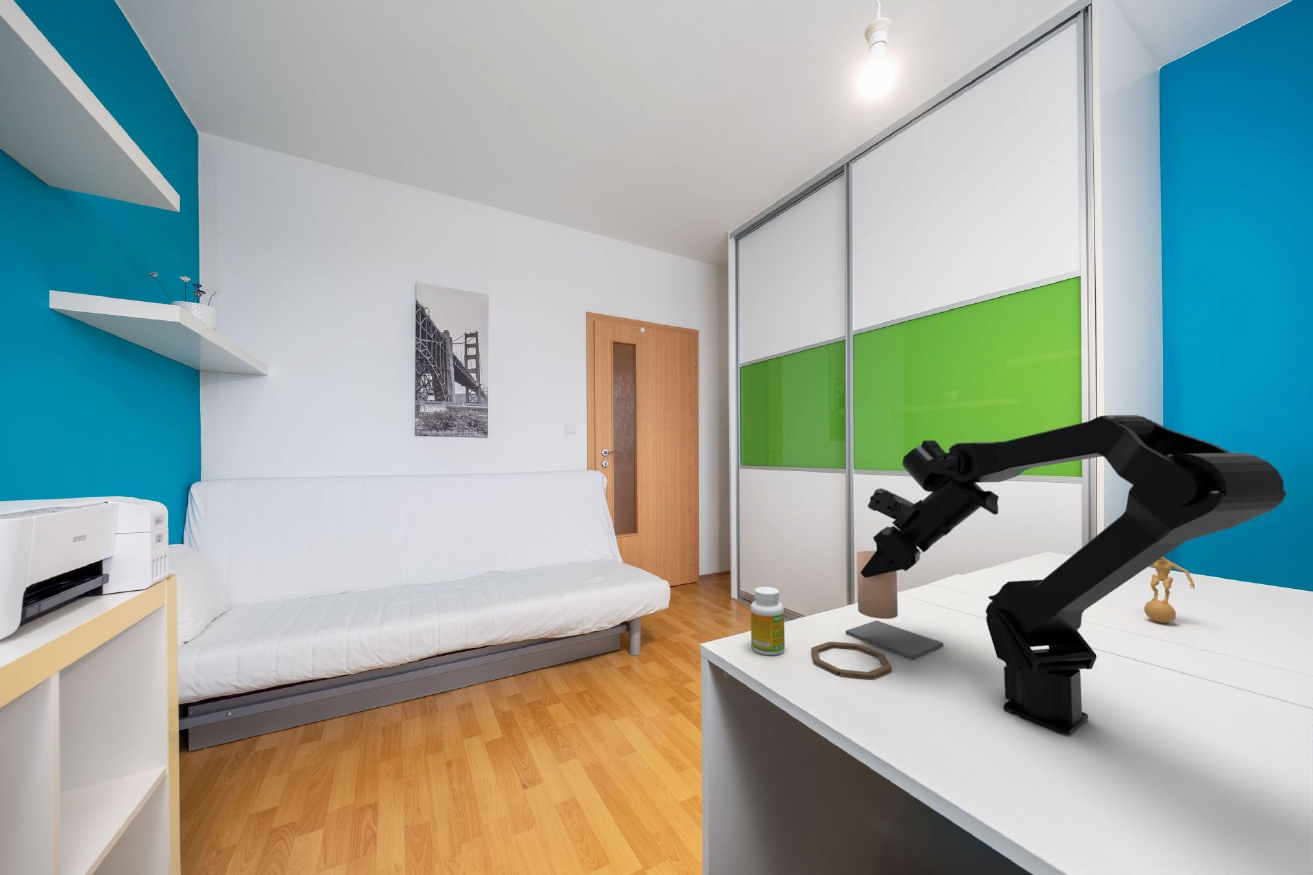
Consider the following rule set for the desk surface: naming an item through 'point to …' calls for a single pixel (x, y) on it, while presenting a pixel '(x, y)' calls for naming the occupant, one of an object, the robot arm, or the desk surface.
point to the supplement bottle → (767, 622)
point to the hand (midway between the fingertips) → (867, 570)
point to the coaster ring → (850, 673)
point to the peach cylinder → (876, 591)
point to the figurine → (1162, 609)
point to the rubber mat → (895, 639)
